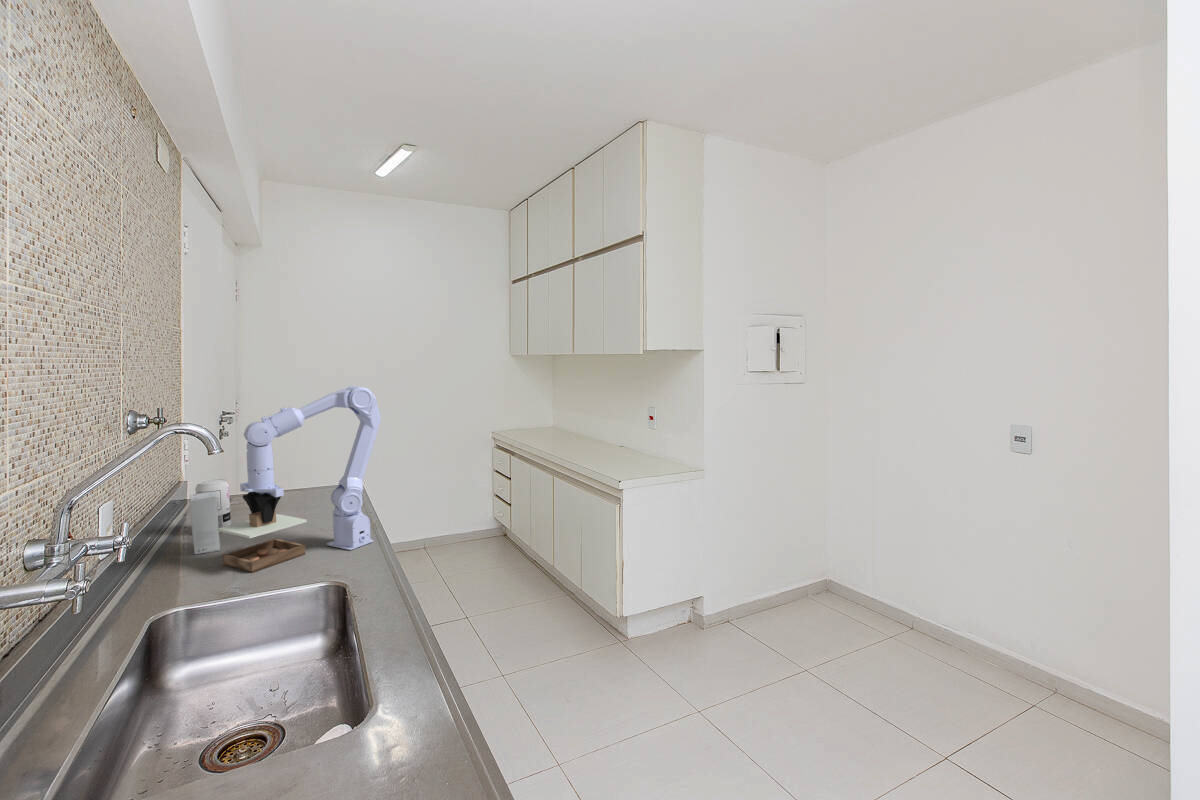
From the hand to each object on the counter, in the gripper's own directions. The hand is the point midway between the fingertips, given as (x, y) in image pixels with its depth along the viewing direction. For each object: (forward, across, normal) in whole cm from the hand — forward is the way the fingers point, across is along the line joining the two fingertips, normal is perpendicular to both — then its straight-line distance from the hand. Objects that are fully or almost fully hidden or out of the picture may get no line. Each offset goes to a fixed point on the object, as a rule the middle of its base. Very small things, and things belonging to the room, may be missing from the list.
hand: (263, 521), depth 142 cm
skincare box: (+10, -22, -2) cm, 24 cm away
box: (+10, 0, 0) cm, 10 cm away
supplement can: (+10, -36, +8) cm, 38 cm away
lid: (+1, 0, 0) cm, 1 cm away
